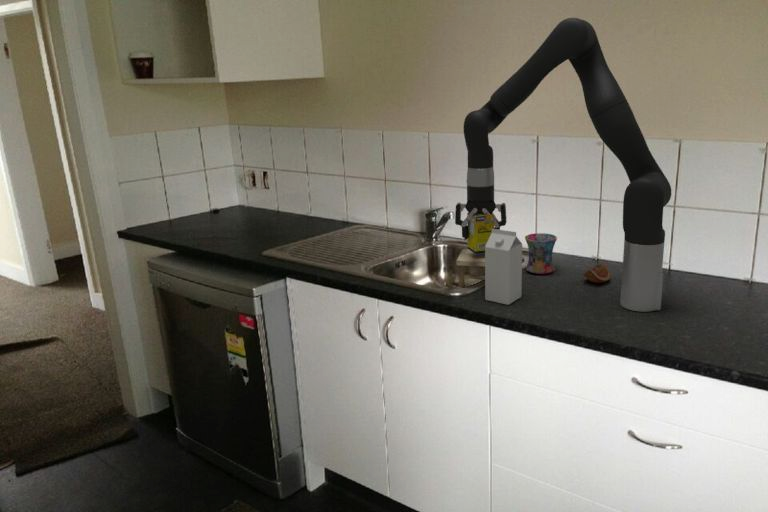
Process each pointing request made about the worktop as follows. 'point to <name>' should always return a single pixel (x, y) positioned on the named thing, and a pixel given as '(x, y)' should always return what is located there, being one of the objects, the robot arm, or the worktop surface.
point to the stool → (469, 265)
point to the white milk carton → (503, 267)
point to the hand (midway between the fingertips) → (480, 239)
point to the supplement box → (479, 232)
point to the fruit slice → (598, 274)
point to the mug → (540, 252)
